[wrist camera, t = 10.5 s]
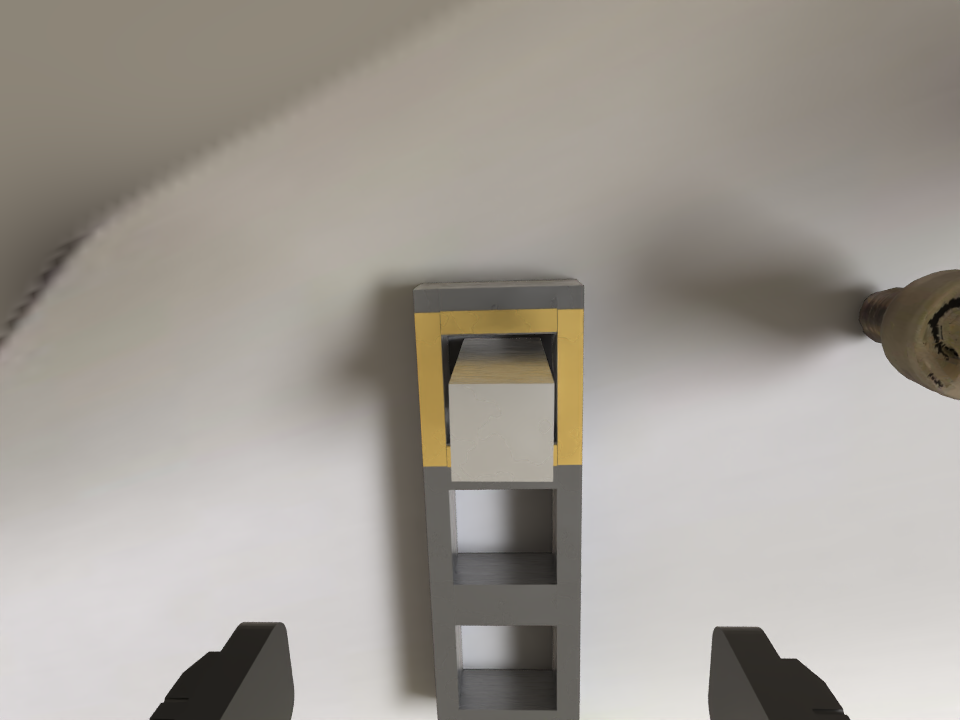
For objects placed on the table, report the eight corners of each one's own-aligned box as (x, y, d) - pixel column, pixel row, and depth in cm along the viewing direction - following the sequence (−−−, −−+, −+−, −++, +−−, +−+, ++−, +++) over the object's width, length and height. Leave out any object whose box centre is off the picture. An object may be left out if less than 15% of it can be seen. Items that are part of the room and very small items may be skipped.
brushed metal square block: (540, 337, 30) (554, 383, 22) (539, 409, 31) (553, 481, 23) (464, 338, 31) (448, 384, 22) (466, 409, 31) (451, 481, 23)
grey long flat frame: (576, 279, 30) (584, 285, 26) (572, 700, 36) (579, 745, 32) (421, 283, 30) (412, 290, 27) (444, 700, 36) (438, 743, 33)
